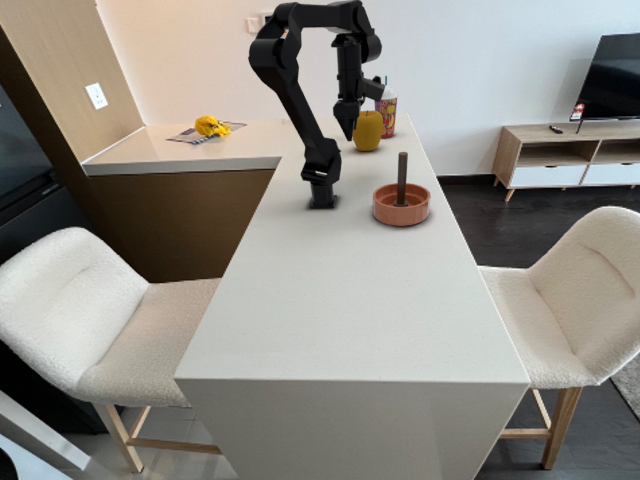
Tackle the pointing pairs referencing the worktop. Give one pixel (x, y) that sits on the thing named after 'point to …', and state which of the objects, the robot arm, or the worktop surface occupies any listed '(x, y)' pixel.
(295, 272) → the worktop surface
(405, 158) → the stick
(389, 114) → the smoothie
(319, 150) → the robot arm
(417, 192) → the bowl
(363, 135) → the apple
